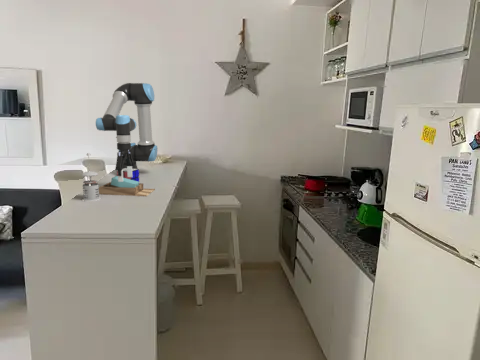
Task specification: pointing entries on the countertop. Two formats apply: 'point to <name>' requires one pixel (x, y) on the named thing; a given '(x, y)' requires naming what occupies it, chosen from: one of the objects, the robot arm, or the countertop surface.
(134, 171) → the puzzle cube
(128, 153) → the robot arm
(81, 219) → the countertop surface
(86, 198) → the french press
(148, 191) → the tan panel
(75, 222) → the countertop surface
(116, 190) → the pocket board
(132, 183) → the teal block
